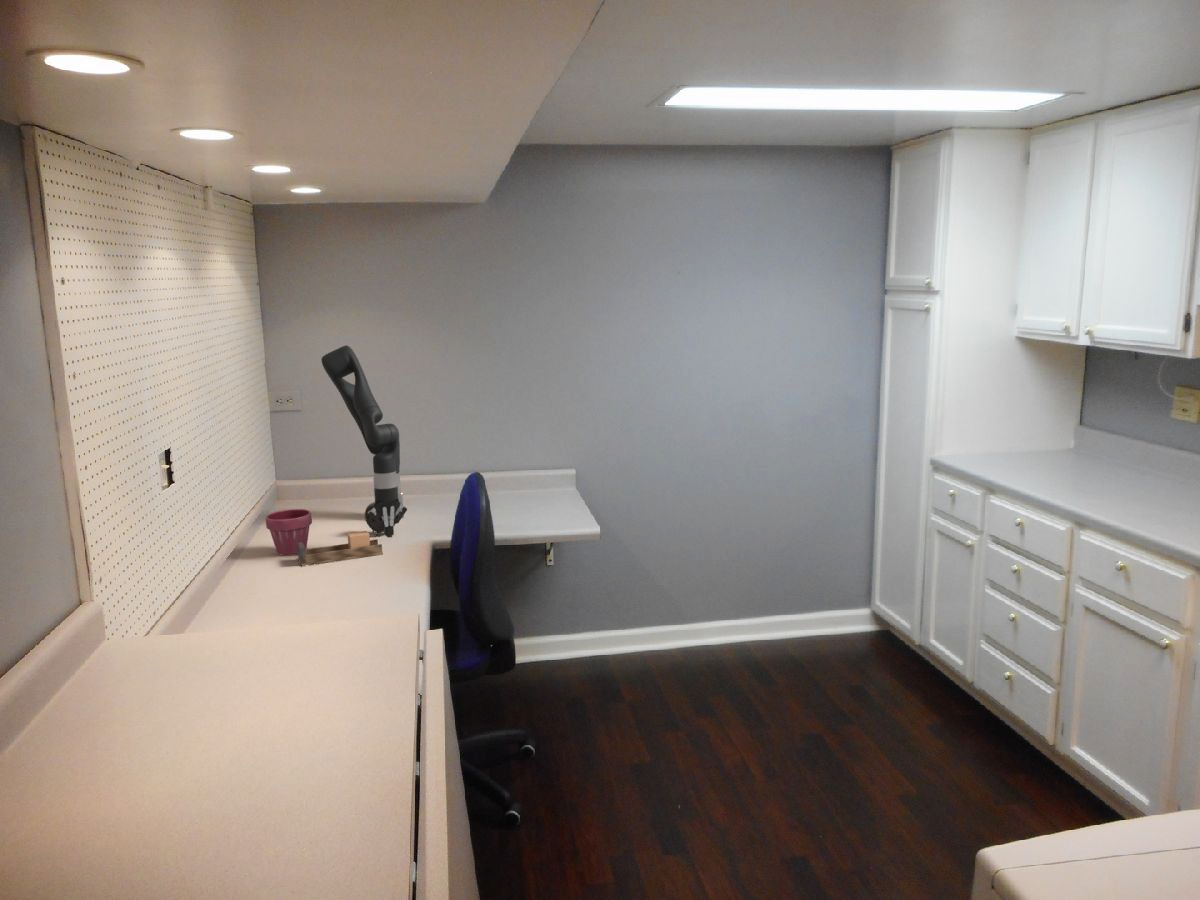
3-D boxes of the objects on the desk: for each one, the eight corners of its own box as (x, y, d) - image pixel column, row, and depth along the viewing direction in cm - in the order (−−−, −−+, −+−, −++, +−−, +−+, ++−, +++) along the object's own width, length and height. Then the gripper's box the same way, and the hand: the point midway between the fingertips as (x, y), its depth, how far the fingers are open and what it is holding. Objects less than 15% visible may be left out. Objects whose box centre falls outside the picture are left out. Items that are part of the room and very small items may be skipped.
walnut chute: (377, 547, 285) (376, 531, 284) (383, 554, 277) (381, 538, 276) (298, 558, 274) (296, 542, 273) (302, 566, 266) (300, 549, 265)
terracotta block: (367, 548, 281) (366, 530, 280) (370, 552, 277) (369, 534, 276) (348, 551, 279) (347, 533, 278) (351, 555, 274) (350, 537, 273)
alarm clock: (398, 534, 301) (395, 488, 298) (388, 538, 296) (385, 492, 293) (373, 531, 305) (370, 486, 302) (363, 535, 300) (360, 489, 297)
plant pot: (259, 555, 278) (255, 517, 276) (289, 544, 291) (286, 507, 289) (294, 559, 273) (290, 521, 271) (323, 547, 286) (320, 510, 284)
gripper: (403, 481, 284) (406, 531, 287) (362, 485, 279) (366, 537, 282) (408, 485, 278) (412, 536, 281) (367, 489, 272) (371, 542, 275)
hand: (389, 536), depth 281 cm, fingers closed
